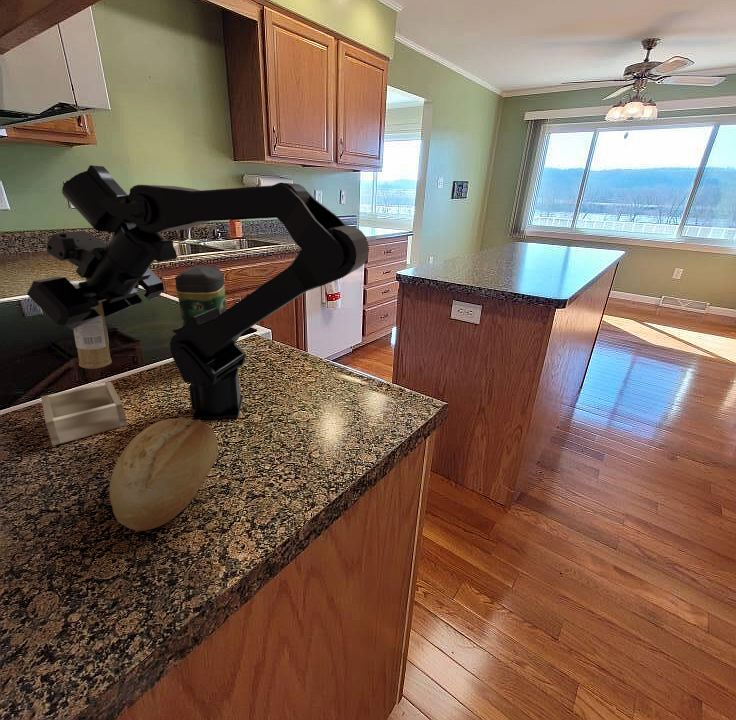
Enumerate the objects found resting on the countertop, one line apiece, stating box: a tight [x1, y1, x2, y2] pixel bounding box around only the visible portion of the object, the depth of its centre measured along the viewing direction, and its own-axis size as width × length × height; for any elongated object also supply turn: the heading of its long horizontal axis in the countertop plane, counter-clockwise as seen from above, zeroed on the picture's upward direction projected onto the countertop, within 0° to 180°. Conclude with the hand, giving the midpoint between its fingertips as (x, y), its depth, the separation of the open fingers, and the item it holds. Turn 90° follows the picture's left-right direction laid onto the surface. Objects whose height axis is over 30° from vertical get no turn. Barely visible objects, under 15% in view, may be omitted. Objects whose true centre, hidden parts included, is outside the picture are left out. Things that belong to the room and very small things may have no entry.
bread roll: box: [108, 417, 219, 532], centre depth 44 cm, size 10×15×8 cm, turn 2°
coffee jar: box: [174, 264, 228, 363], centre depth 76 cm, size 10×8×19 cm
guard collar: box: [40, 381, 128, 446], centre depth 57 cm, size 9×9×4 cm
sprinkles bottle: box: [69, 280, 113, 370], centre depth 63 cm, size 5×5×13 cm
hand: (82, 322), depth 63 cm, fingers closed on sprinkles bottle, 4 cm apart
